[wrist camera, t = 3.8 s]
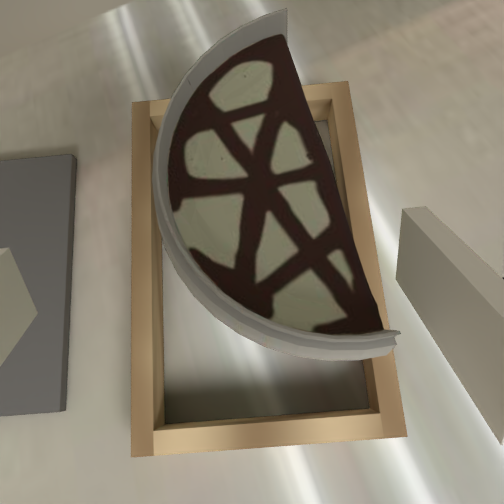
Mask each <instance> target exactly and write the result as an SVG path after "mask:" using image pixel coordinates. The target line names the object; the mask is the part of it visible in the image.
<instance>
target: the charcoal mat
mask: <svg viewBox="0 0 504 504" xmlns="http://www.w3.org/2000/svg"><path fill="white" fill-rule="evenodd" d="M76 164H77V159H76V158H75V157H74V156H73V155H72V154H67V155H56V156H46V157H35V158H25V159H15V160H4V161H0V248H9V249H10V251H11V253H12V255H13V258H14V260H15V262H16V265H17V267H18V269H19V271H20V274H21V276H22V278H23V280H24V283H25V285H26V287H27V289H28V292H29V294H30V296H31V298H32V301H33V303H34V305H35V308H36V310H37V312H38V314H37V315H36V317H35V318H34V320H33V321H32V323H31V324H30V325H29V327H28V328H27V330H26V331H25V332H24V334H23V335H22V337H21V338H20V339H19V341H18V342H17V344H16V345H15V347H14V348H13V349H12V351H11V352H10V354H9V355H8V356H7V358H6V359H5V361H4V362H3V363H2V365H1V366H0V416H12V415H25V414H38V413H50V412H61V411H65V410H66V393H67V371H68V348H69V325H70V302H71V279H72V256H73V233H74V210H75V187H76Z"/></svg>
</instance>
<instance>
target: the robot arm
mask: <svg viewBox="0 0 504 504" xmlns="http://www.w3.org/2000/svg"><path fill="white" fill-rule="evenodd" d="M396 280H397V282H398V284H399V285H400V287H401V288H402V290H403V291H404V293H405V295H406V296H407V298H408V299H409V301H410V302H411V304H412V306H413V307H414V309H415V310H416V312H417V314H418V315H419V317H420V318H421V320H422V321H423V323H424V325H425V326H426V328H427V329H428V331H429V332H430V334H431V336H432V337H433V339H434V340H435V342H436V344H437V345H438V347H439V348H440V350H441V351H442V353H443V355H444V356H445V358H446V359H447V361H448V362H449V364H450V366H451V367H452V369H453V370H454V372H455V373H456V375H457V377H458V378H459V380H460V381H461V383H462V385H463V386H464V388H465V389H466V391H467V392H468V394H469V396H470V397H471V399H472V400H473V402H474V403H475V405H476V407H477V408H478V410H479V411H480V413H481V414H482V416H483V418H484V419H485V421H486V422H487V424H488V426H489V427H490V429H491V430H492V432H493V433H494V435H495V437H496V438H497V440H498V441H499V443H500V444H501V445H504V278H502V277H500V276H499V275H498V274H497V273H496V272H495V271H494V270H493V269H492V268H491V267H490V266H489V265H488V264H487V263H486V262H484V261H483V260H482V259H481V258H480V257H479V256H478V255H477V254H476V253H475V252H474V251H473V250H472V249H471V248H470V247H468V246H467V245H466V244H465V243H464V242H463V241H462V240H461V239H460V238H459V237H458V236H457V235H456V234H455V233H454V232H452V231H451V230H450V229H449V228H448V227H447V226H446V225H445V224H444V223H443V222H442V221H441V220H440V219H439V218H438V217H436V216H435V215H434V214H433V213H432V212H431V211H430V210H429V209H428V208H427V207H426V206H425V207H415V208H405V209H402V217H401V228H400V239H399V249H398V260H397V271H396ZM37 314H38V312H37V310H36V308H35V305H34V303H33V301H32V298H31V296H30V294H29V292H28V289H27V287H26V285H25V283H24V280H23V278H22V276H21V274H20V271H19V269H18V267H17V265H16V262H15V260H14V258H13V255H12V253H11V251H10V249H9V248H0V366H1V365H2V363H3V362H4V361H5V359H6V358H7V356H8V355H9V354H10V352H11V351H12V349H13V348H14V347H15V345H16V344H17V342H18V341H19V339H20V338H21V337H22V335H23V334H24V332H25V331H26V330H27V328H28V327H29V325H30V324H31V323H32V321H33V320H34V318H35V317H36V315H37Z"/></svg>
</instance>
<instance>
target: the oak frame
mask: <svg viewBox="0 0 504 504" xmlns="http://www.w3.org/2000/svg"><path fill="white" fill-rule="evenodd" d="M302 89H303V92H304V95H305V98H306V100H307V103H308V106H309V109H310V111H311V114H312V117H313V119H314V121H321V120H327V121H328V128H329V135H330V141H331V148H332V155H333V162H334V169H335V176H336V182H337V188H338V191H339V194H340V198H341V201H342V204H343V208H344V211H345V214H346V217H347V221H348V224H349V227H350V230H351V233H352V236H353V239H354V243H355V246H356V249H357V252H358V255H359V258H360V261H361V264H362V267H363V270H364V273H365V276H366V279H367V282H368V285H369V287H370V290H371V293H372V295H373V297H374V299H375V301H376V303H377V305H378V310H379V315H380V317H381V320H382V323H383V327H384V329H386V330H390V329H389V323H388V317H387V311H386V305H385V299H384V293H383V287H382V281H381V275H380V269H379V263H378V257H377V251H376V245H375V239H374V233H373V227H372V221H371V215H370V209H369V203H368V197H367V191H366V185H365V179H364V173H363V167H362V161H361V155H360V149H359V143H358V137H357V131H356V125H355V119H354V114H353V108H352V102H351V96H350V90H349V84H348V81H344V82H333V83H323V84H313V85H303V86H302ZM170 100H171V99H162V100H152V101H142V102H132V270H131V457H143V456H156V455H170V454H183V453H196V452H210V451H223V450H236V449H250V448H263V447H276V446H290V445H303V444H316V443H330V442H343V441H356V440H370V439H383V438H396V437H408V436H407V430H406V424H405V419H404V413H403V407H402V401H401V395H400V389H399V383H398V377H397V371H396V365H395V359H394V353H393V349H392V350H391V351H390V352H389V353H388V354H387V355H385V356H379V357H374V358H368V359H363V367H364V374H365V380H366V387H367V394H368V401H369V409H356V410H343V411H330V412H317V413H304V414H291V415H278V416H265V417H252V418H239V419H226V420H213V421H200V422H187V423H174V424H165V395H164V341H163V286H162V236H161V232H160V229H159V226H158V221H157V215H156V210H155V203H154V194H153V184H152V171H153V155H154V150H155V146H156V141H157V137H158V133H159V129H160V126H161V123H162V119H163V117H164V114H165V112H166V109H167V107H168V104H169V102H170Z"/></svg>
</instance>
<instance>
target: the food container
mask: <svg viewBox="0 0 504 504" xmlns="http://www.w3.org/2000/svg"><path fill="white" fill-rule="evenodd" d="M152 184H153V194H154V203H155V210H156V215H157V221H158V226H159V229H160V232H161V236H162V239H163V243H164V246H165V249H166V251H167V253H168V255H169V257H170V259H171V261H172V263H173V265H174V268H175V270H176V272H177V274H178V275H179V276H180V278H181V279H182V280H183V282H184V283H185V285H186V286H187V287H188V289H189V290H190V292H191V293H192V294H193V296H194V297H195V298H196V299H197V300H198V301H199V302H200V303H201V304H202V305H203V306H204V307H205V308H206V309H207V310H208V311H209V312H210V313H211V314H212V315H213V316H214V317H216V318H217V319H219V320H220V321H221V322H223V323H224V324H226V325H227V326H228V327H230V328H231V329H233V330H234V331H235V332H237V333H238V334H240V335H242V336H244V337H246V338H248V339H250V340H252V341H254V342H256V343H258V344H261V345H263V346H265V347H267V348H270V349H273V350H277V351H280V352H283V353H286V354H290V355H293V356H297V357H304V358H311V359H318V360H325V361H342V360H363V359H368V358H374V357H379V356H385V355H387V354H388V353H389V352H390V351H391V350H392V349H393V348H394V347H395V346H396V345H397V344H396V341H395V338H394V336H397V335H399V334H401V333H400V331H396V330H386V329H384V327H383V323H382V320H381V317H380V315H379V310H378V305H377V303H376V301H375V299H374V297H373V295H372V293H371V290H370V287H369V285H368V282H367V279H366V276H365V273H364V270H363V267H362V264H361V261H360V258H359V255H358V252H357V249H356V246H355V243H354V239H353V236H352V233H351V230H350V227H349V224H348V221H347V217H346V214H345V211H344V208H343V204H342V201H341V198H340V194H339V191H338V188H337V184H336V181H335V177H334V174H333V171H332V167H331V164H330V161H329V158H328V155H327V153H326V150H325V148H324V145H323V143H322V140H321V137H320V135H319V133H318V130H317V128H316V125H315V122H314V119H313V117H312V114H311V111H310V109H309V106H308V103H307V100H306V98H305V95H304V92H303V89H302V86H301V83H300V80H299V77H298V74H297V71H296V68H295V65H294V62H293V59H292V57H291V54H290V51H289V48H288V45H287V8H285V9H282V10H279V11H276V12H273V13H270V14H266V15H264V16H261V17H259V18H257V19H255V20H253V21H251V22H249V23H247V24H244V25H242V26H240V27H239V28H237V29H236V30H234V31H233V32H231V33H230V34H228V35H226V36H225V37H223V38H222V39H220V40H219V41H218V42H217V43H216V44H214V45H213V46H212V47H211V48H210V49H209V50H208V51H206V52H205V53H204V54H203V55H202V56H201V57H200V58H199V59H198V60H197V62H196V63H195V64H194V65H193V66H192V67H191V69H190V70H189V71H188V72H187V73H186V74H185V76H184V77H183V79H182V81H181V82H180V84H179V86H178V87H177V89H176V90H175V92H174V94H173V95H172V97H171V100H170V102H169V104H168V107H167V109H166V112H165V114H164V117H163V119H162V123H161V126H160V129H159V133H158V137H157V141H156V146H155V150H154V155H153V171H152Z"/></svg>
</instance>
